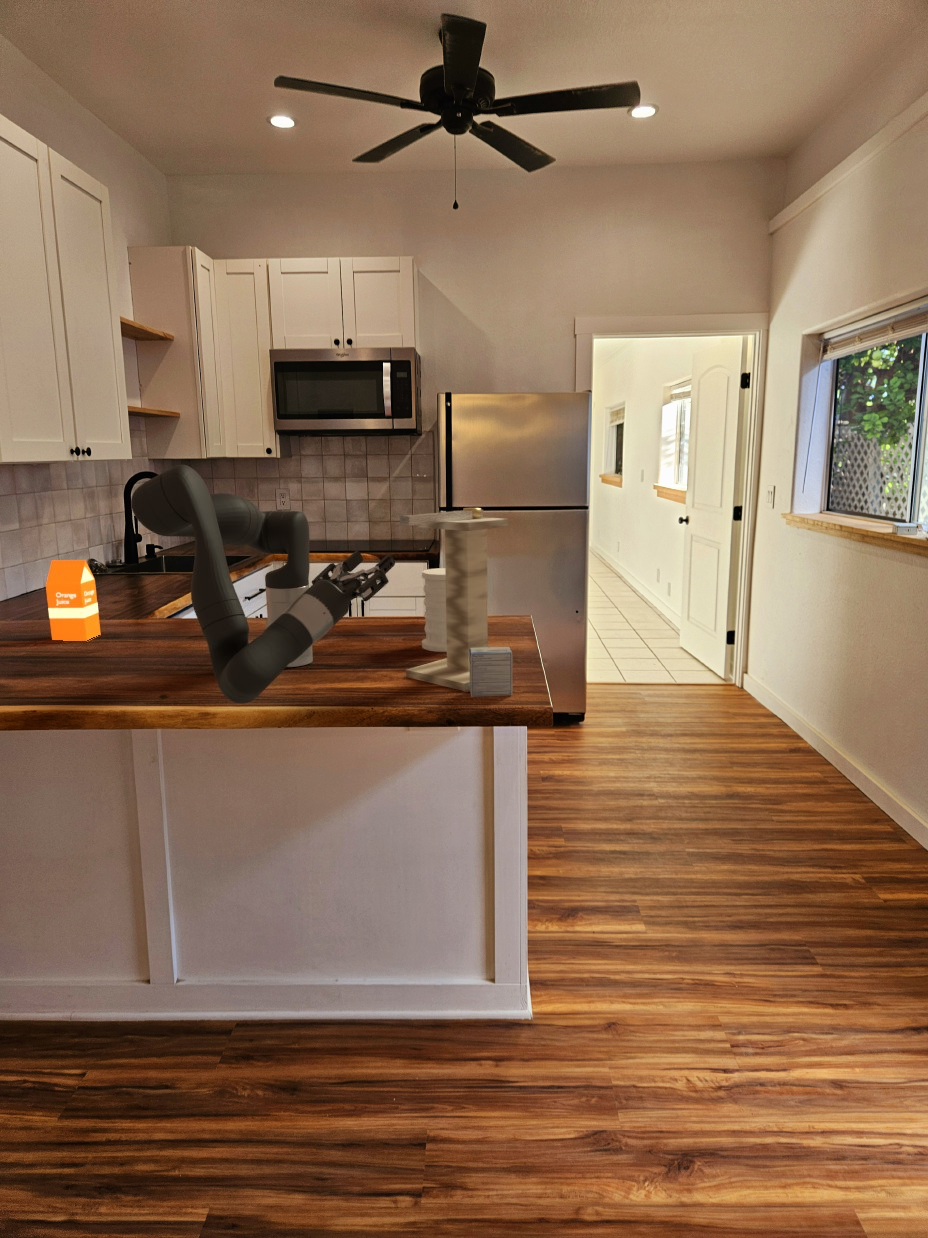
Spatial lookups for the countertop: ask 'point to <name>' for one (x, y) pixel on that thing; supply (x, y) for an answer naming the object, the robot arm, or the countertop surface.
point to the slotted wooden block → (442, 516)
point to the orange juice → (72, 601)
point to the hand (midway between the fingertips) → (375, 556)
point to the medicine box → (490, 671)
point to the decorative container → (435, 610)
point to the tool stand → (462, 600)
